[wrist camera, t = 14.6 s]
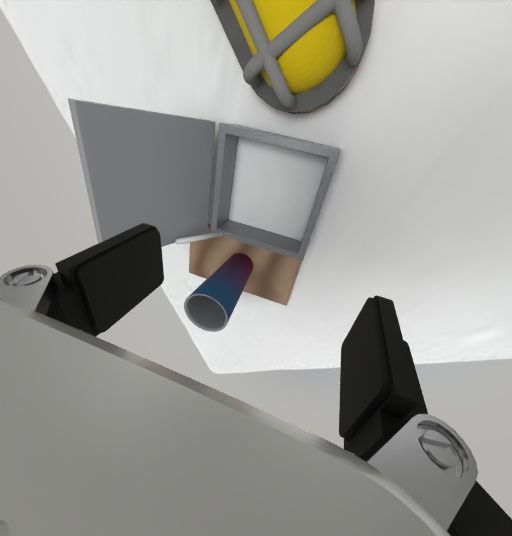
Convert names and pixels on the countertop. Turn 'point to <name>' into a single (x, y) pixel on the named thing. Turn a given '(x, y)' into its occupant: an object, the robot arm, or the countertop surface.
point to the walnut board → (264, 266)
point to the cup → (219, 294)
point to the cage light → (297, 47)
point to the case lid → (144, 169)
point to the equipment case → (224, 189)
